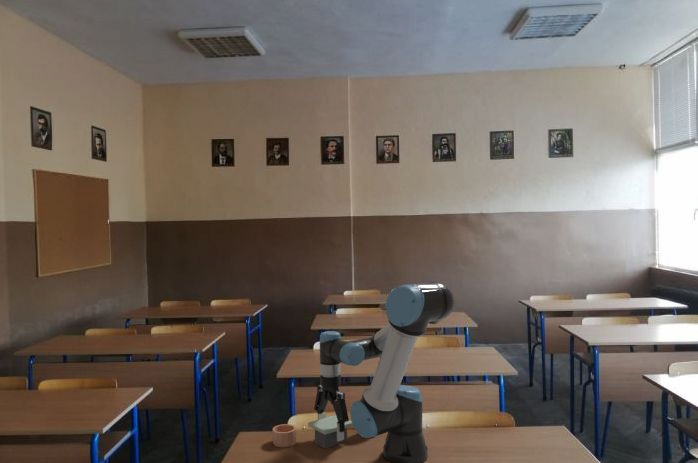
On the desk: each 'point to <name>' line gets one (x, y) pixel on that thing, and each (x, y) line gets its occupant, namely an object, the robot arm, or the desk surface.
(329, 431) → the lid
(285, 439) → the pink ceramic pot
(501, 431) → the desk surface
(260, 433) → the desk surface
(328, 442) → the dark grey rectangular block
